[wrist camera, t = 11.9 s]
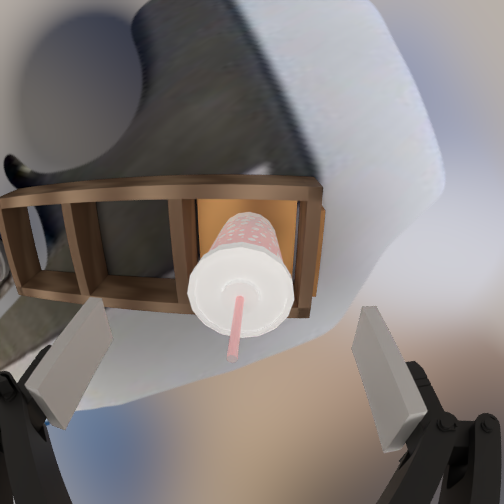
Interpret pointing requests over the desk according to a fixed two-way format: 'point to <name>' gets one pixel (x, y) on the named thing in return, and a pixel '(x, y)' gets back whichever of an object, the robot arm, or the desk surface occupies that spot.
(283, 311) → the beverage cup
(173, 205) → the walnut rack
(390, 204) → the desk surface
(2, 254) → the travel mug
